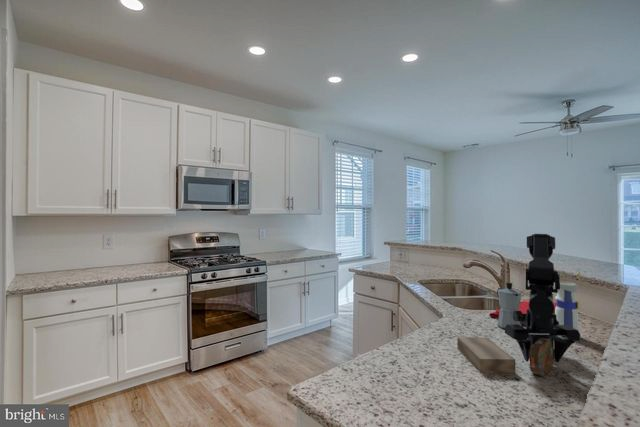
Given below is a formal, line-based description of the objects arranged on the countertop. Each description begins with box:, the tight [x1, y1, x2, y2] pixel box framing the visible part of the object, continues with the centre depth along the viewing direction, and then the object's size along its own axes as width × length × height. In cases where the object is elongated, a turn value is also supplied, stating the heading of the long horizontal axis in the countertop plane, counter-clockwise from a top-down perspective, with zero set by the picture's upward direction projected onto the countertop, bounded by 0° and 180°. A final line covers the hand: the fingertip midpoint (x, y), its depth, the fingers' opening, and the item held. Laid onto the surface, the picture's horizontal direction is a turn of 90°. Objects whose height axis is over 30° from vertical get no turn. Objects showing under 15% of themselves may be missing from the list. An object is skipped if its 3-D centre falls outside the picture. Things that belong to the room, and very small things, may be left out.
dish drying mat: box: [488, 299, 557, 326], centre depth 153 cm, size 16×41×4 cm, turn 123°
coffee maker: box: [496, 282, 522, 330], centre depth 135 cm, size 15×9×18 cm, turn 179°
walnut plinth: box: [456, 336, 516, 374], centre depth 102 cm, size 10×17×4 cm, turn 178°
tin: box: [529, 338, 555, 377], centre depth 96 cm, size 15×3×8 cm, turn 131°
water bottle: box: [553, 269, 581, 332], centre depth 126 cm, size 8×9×25 cm
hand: (541, 361), depth 96 cm, fingers open, 8 cm apart
